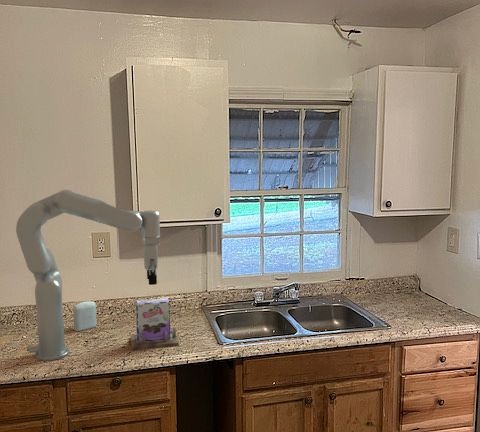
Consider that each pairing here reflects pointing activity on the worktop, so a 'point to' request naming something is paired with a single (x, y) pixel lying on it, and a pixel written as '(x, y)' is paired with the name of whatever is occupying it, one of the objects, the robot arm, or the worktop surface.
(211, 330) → the worktop surface
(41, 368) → the worktop surface
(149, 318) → the candy box
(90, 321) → the photo printer
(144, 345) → the grey tray
